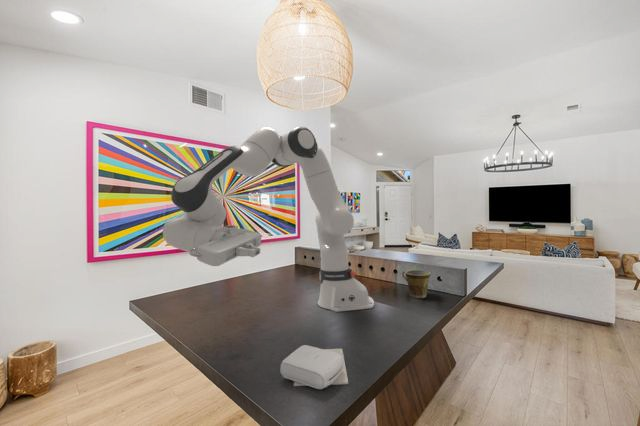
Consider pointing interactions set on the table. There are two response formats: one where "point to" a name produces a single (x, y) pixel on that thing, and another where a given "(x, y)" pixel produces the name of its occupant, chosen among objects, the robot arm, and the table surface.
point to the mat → (342, 377)
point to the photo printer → (312, 366)
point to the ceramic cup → (417, 282)
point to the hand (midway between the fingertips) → (257, 252)
